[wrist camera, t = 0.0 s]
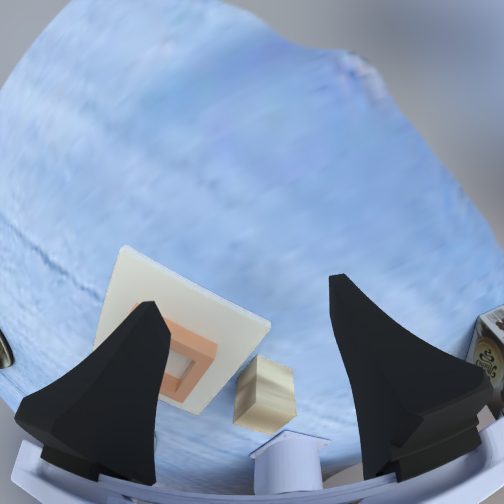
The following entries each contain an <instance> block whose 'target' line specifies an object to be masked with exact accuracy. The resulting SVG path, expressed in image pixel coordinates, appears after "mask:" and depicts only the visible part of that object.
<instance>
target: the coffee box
mask: <svg viewBox="0 0 504 504" xmlns="http://www.w3.org/2000/svg"><path fill="white" fill-rule="evenodd" d="M466 361H467V362H469V363H472V364H475V365H477V366H480V367H483V369H484V371H485V372H486V374H487V376H488V377H489V379H490V382H491V384H492V386H493V388H494V393H493V396H492V398H491V399H490V400H489V402H488V403H487V404H486V405H487V406H488V408H489V409H490V411H491V412H492V414H493V416H494V418H495V419H496V421H497V420H498V419H500V418H501V417H503V416H504V305H502V306H499V307H497V308H495V309H493V310H491V311H488V312H486V313H484V314H482V315H479V316H478V318H477V322H476V326H475V330H474V334H473V338H472V341H471V345H470V348H469V351H468V354H467V358H466Z"/></svg>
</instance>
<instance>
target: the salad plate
mask: <svg viewBox="0 0 504 504" xmlns="http://www.w3.org/2000/svg"><path fill="white" fill-rule="evenodd" d="M11 365H13V355H12V351H11V348H10V346H9V344H8V342H7V340H6V339H5V337H4V335H3V333H2V332H1V330H0V369H3V368H5V367H9V366H11Z"/></svg>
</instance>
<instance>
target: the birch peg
mask: <svg viewBox="0 0 504 504" xmlns="http://www.w3.org/2000/svg"><path fill="white" fill-rule="evenodd" d="M295 416H297V412H296V402H295V392H294V382H293V373H292V368H289V367H287V366H284V365H282V364H279V363H277V362H274V361H272V360H270V359H267V358H265V357H262V356H260V355H258V354H257V355H256V357H255V358H254V359H253V360H252V361H251V363H250V364H249V365H248V366H247V367H246V368H245V370H244V371H243V372H242V373H241V374H240V375H239V377H238V378H237V388H236V398H235V407H234V417H233V424H235V425H238V426H241V427H244V428H247V429H251V430H254V431H258V432H261V433H265V434H268V435H272V434H274V433H275V432H276V431H278V430H279V429H280V428H282V427H283V426H284V425H285V424H287V423H288V422H289V421H291V420H292V419H293V418H294V417H295Z"/></svg>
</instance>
